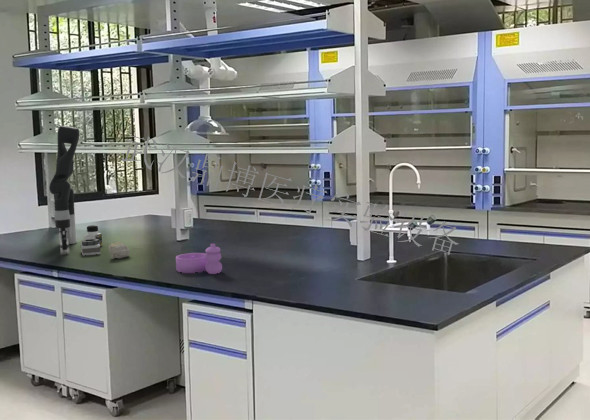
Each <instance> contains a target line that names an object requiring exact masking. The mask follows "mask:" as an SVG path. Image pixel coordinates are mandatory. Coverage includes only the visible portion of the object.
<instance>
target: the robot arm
mask: <svg viewBox="0 0 590 420" xmlns="http://www.w3.org/2000/svg"><path fill="white" fill-rule="evenodd" d="M79 139H80V130H79V128H78V127H72V126H68V125H67V126H66V125H60V126H59V127H58V129H57V155H56V162H55V165H56V166H55V170H56V171H55V174H54V175H53V178H52V179H51V181H50V183H49V192H50V193H51V195H53V200H54V202H53V204H54V206H53V207H54V224H55V225H54V226H55V228H56V229H58V230H59V231H58V232H59V240H60V239H61V240H62V248H63V250H67V239H68V242H69V245H72V244H73V245H74V244H77V243H78V242H77V228H76V216H75V193H74V188H73V187H72V186H71V184H70V182H68V179H69V178H70V177H71V176H72V174H73V172H74V165H75V164H74V163H75V161H74V157H75V154H76V150H77V146H78V143H79ZM66 144H68V145H70V147H69V148H68V150H67V147H66ZM63 239H66V240H63Z"/></svg>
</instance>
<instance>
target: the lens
mask: <svg viewBox="0 0 590 420" xmlns="http://www.w3.org/2000/svg"><path fill="white" fill-rule="evenodd" d="M63 240H66V239H63ZM59 249H60V251H59V252H60V255H61V256H68V255H70V244H69V242H68V239H67V250H63V248H62V240H61V239H60V238H59Z"/></svg>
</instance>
